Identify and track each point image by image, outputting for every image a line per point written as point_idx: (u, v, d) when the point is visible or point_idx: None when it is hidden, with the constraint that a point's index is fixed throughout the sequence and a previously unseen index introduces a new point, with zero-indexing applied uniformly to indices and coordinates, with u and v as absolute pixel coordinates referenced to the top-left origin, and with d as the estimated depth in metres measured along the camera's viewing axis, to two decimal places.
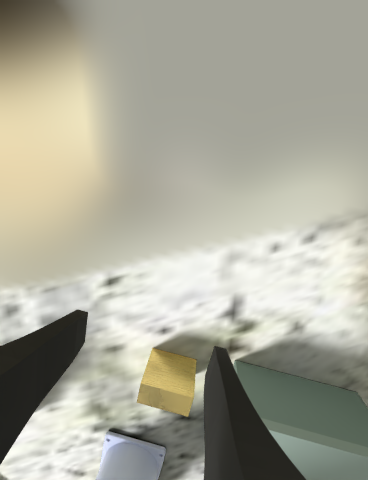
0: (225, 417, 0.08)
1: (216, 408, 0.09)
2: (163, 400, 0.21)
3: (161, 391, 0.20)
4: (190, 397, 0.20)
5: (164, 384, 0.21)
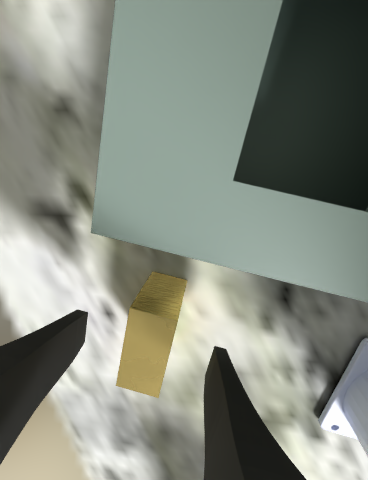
0: (225, 417, 0.08)
1: (216, 408, 0.09)
2: (145, 357, 0.11)
3: (125, 357, 0.11)
4: (131, 313, 0.11)
5: None
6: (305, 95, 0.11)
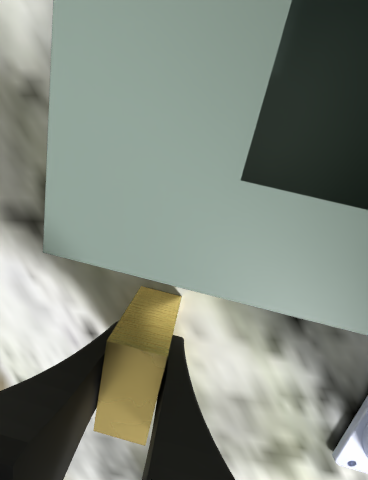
0: (161, 399, 0.08)
1: (161, 392, 0.09)
2: (128, 399, 0.09)
3: (104, 398, 0.09)
4: (109, 346, 0.09)
5: None
6: (325, 75, 0.09)
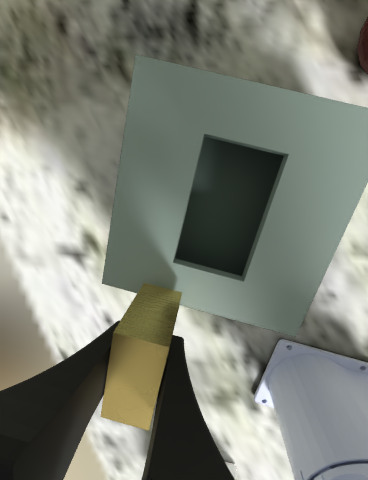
0: (161, 399, 0.08)
1: (161, 392, 0.09)
2: (133, 387, 0.10)
3: (110, 386, 0.10)
4: (115, 337, 0.09)
5: None
6: (231, 192, 0.18)
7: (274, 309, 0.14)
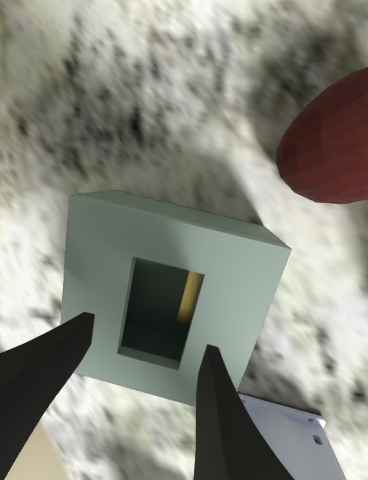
0: (214, 414, 0.08)
1: (207, 404, 0.09)
2: None
3: None
4: None
5: None
6: (181, 269, 0.20)
7: None
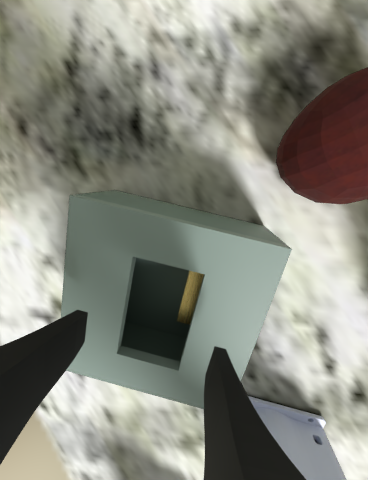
0: (225, 417, 0.08)
1: (216, 408, 0.09)
2: None
3: None
4: None
5: None
6: (181, 269, 0.20)
7: None
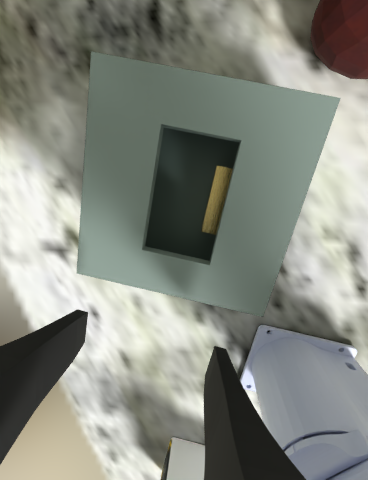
0: (225, 417, 0.08)
1: (216, 407, 0.09)
2: None
3: None
4: None
5: None
6: (203, 182, 0.19)
7: (241, 291, 0.14)
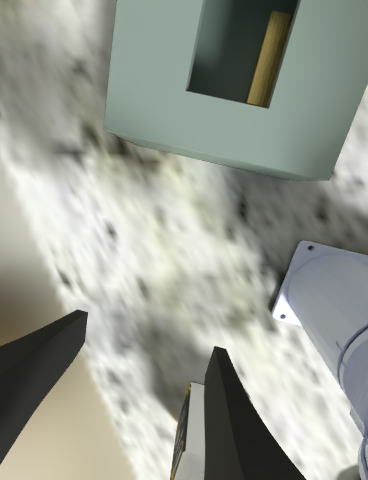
0: (225, 417, 0.08)
1: (216, 407, 0.09)
2: None
3: None
4: None
5: None
6: (247, 56, 0.16)
7: (304, 144, 0.12)
